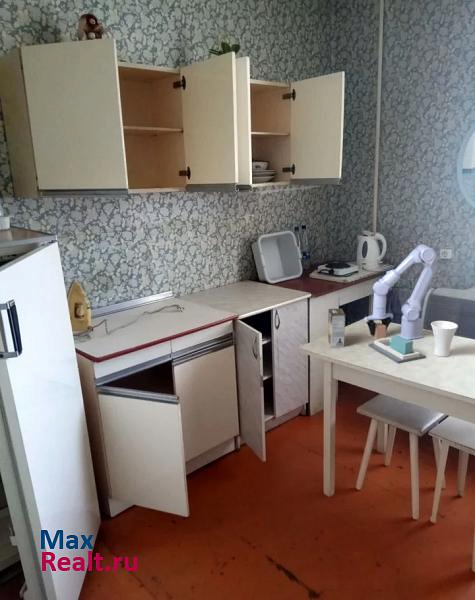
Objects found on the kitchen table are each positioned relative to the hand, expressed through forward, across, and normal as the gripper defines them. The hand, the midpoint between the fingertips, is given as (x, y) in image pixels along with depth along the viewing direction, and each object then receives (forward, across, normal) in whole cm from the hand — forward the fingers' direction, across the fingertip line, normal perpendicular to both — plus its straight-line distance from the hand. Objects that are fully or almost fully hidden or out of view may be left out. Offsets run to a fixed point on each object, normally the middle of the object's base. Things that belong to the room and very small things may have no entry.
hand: (378, 333), depth 224 cm
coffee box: (+2, +23, 0) cm, 23 cm away
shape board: (+1, +4, +19) cm, 19 cm away
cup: (+2, -12, +29) cm, 31 cm away
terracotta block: (+2, 0, 0) cm, 2 cm away
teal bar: (0, +4, +22) cm, 23 cm away
